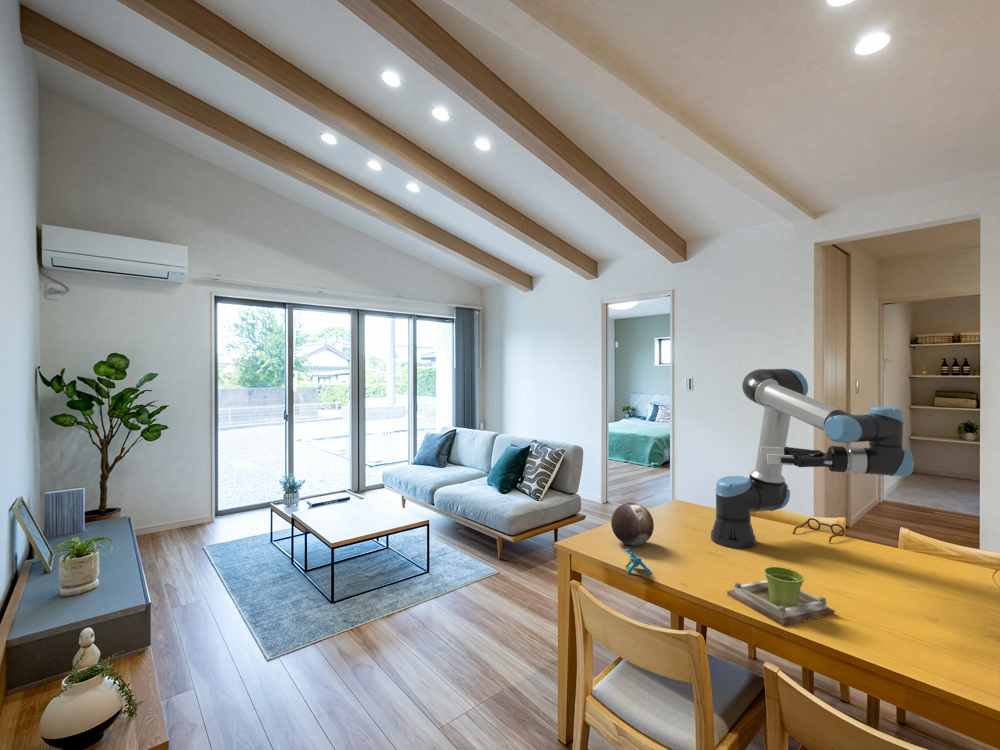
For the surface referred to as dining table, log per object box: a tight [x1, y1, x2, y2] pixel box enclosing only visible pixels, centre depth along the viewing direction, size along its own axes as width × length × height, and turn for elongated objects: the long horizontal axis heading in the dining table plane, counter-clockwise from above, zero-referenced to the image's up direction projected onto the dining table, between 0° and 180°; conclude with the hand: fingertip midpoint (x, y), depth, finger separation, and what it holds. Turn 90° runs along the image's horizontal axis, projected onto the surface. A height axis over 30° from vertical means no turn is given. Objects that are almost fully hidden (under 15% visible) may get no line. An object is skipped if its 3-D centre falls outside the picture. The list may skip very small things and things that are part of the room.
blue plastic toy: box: [624, 548, 653, 575], centre depth 154 cm, size 11×6×10 cm
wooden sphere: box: [610, 502, 655, 547], centre depth 178 cm, size 15×15×15 cm
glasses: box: [792, 517, 846, 543], centre depth 187 cm, size 13×13×5 cm
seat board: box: [726, 579, 836, 627], centre depth 133 cm, size 18×18×4 cm
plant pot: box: [763, 566, 806, 608], centre depth 130 cm, size 9×9×9 cm
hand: (763, 454), depth 151 cm, fingers open, 13 cm apart
